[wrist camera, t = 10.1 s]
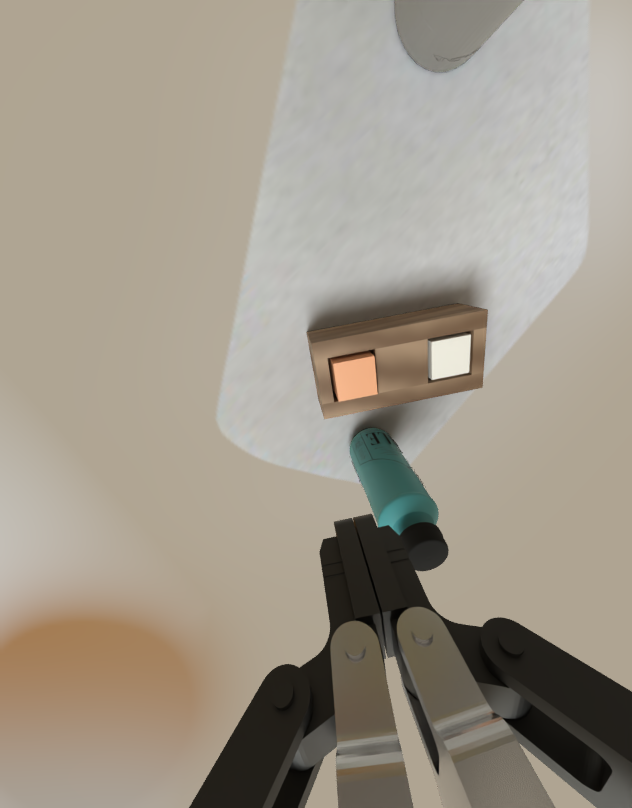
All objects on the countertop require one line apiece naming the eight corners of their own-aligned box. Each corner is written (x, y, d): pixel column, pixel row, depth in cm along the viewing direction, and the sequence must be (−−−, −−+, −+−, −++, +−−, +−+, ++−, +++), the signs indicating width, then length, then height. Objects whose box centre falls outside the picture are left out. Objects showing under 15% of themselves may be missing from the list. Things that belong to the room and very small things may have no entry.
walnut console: (306, 332, 38) (311, 343, 32) (457, 303, 38) (487, 309, 33) (318, 398, 41) (324, 419, 36) (455, 371, 42) (482, 387, 36)
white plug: (413, 333, 38) (431, 342, 33) (447, 326, 38) (470, 334, 34) (414, 366, 40) (431, 380, 35) (447, 360, 40) (469, 372, 35)
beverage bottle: (350, 464, 46) (396, 592, 28) (341, 426, 43) (387, 542, 25) (392, 453, 46) (466, 574, 28) (386, 415, 43) (464, 522, 25)
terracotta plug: (326, 351, 37) (333, 363, 32) (362, 344, 37) (374, 356, 32) (331, 385, 39) (338, 401, 34) (365, 379, 39) (377, 394, 34)
